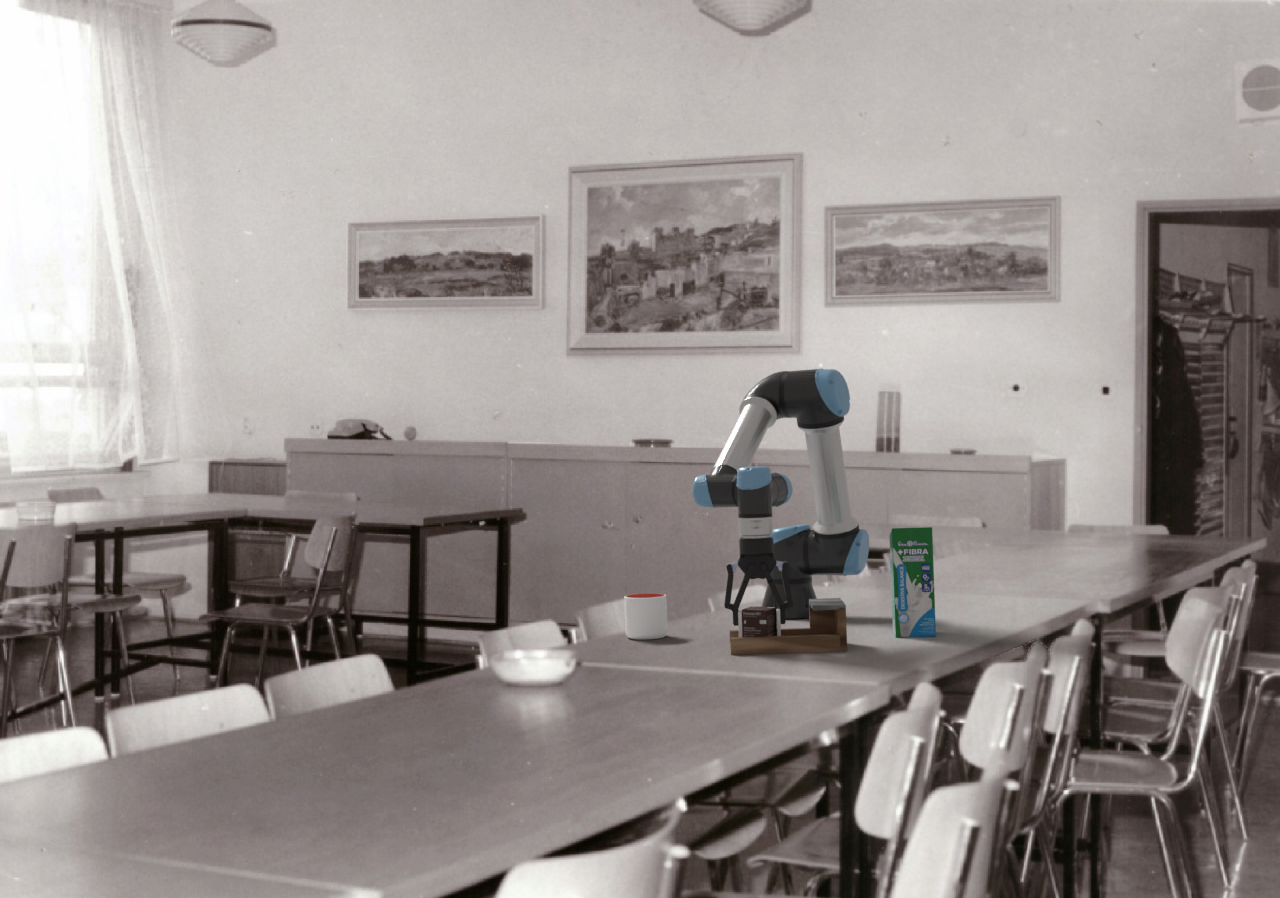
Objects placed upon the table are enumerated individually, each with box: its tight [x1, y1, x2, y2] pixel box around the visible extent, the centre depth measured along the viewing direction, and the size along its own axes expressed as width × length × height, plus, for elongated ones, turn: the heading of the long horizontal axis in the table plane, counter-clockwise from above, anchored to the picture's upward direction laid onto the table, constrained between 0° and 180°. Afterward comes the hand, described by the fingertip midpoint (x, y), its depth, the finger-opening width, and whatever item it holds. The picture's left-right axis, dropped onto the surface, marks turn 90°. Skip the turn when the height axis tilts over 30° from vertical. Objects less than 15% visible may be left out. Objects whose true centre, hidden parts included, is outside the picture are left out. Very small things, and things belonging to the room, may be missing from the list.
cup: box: [623, 592, 669, 641], centre depth 343 cm, size 10×10×10 cm
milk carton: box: [889, 525, 937, 638], centre depth 332 cm, size 9×9×25 cm
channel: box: [729, 597, 848, 656], centre depth 318 cm, size 13×25×10 cm, turn 87°
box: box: [741, 605, 777, 637], centre depth 318 cm, size 6×6×7 cm
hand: (759, 639), depth 318 cm, fingers closed on box, 8 cm apart
